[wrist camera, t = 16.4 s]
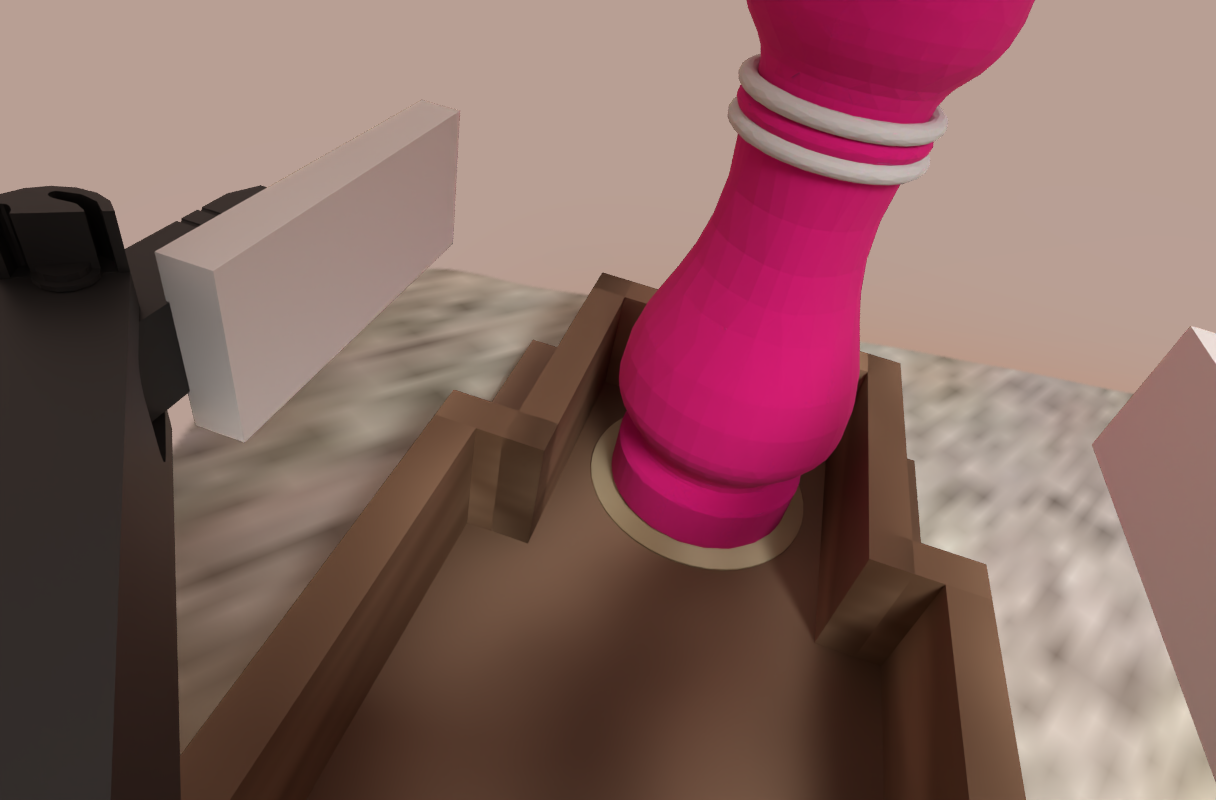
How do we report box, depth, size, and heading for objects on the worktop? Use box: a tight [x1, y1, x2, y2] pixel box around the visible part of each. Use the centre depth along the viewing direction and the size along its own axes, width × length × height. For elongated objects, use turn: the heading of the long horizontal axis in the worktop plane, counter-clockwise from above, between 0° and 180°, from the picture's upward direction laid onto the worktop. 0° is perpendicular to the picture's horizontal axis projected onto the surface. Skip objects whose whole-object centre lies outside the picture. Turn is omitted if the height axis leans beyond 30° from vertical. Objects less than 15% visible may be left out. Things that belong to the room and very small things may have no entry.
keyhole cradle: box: [180, 273, 1026, 800], centre depth 20 cm, size 16×24×5 cm, turn 164°
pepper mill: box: [612, 0, 1035, 549], centre depth 20 cm, size 7×7×20 cm
